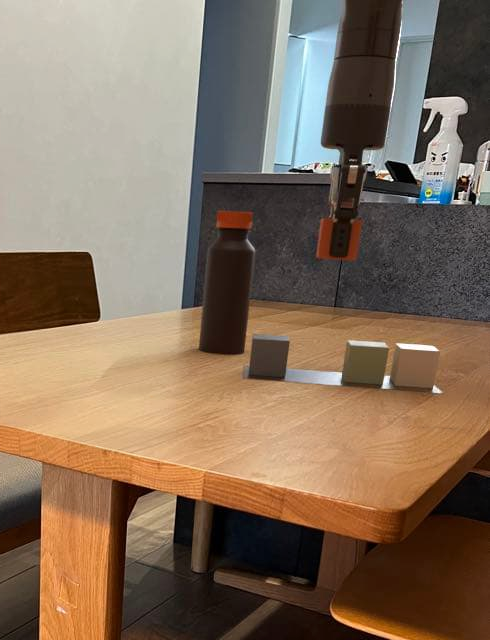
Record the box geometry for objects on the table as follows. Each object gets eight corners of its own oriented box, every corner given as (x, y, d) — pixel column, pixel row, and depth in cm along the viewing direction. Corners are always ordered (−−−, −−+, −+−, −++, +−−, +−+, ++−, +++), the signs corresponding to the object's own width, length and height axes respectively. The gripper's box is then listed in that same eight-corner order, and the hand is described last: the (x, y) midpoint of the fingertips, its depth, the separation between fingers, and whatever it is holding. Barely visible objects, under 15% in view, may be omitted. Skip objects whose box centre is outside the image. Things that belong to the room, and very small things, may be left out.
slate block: (284, 371, 113) (288, 336, 111) (285, 377, 109) (289, 340, 107) (248, 369, 114) (252, 333, 112) (248, 374, 110) (252, 338, 108)
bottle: (207, 358, 124) (221, 211, 117) (192, 350, 130) (204, 210, 123) (251, 358, 126) (267, 213, 119) (233, 351, 132) (248, 212, 125)
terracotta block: (352, 258, 109) (358, 220, 107) (356, 260, 105) (362, 220, 103) (315, 256, 110) (321, 218, 108) (317, 258, 106) (323, 218, 104)
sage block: (378, 378, 111) (384, 342, 109) (382, 384, 107) (389, 347, 105) (341, 375, 112) (347, 340, 110) (345, 382, 108) (350, 345, 106)
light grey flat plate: (427, 383, 113) (428, 378, 113) (442, 398, 104) (443, 393, 103) (243, 369, 117) (243, 365, 116) (242, 382, 107) (242, 378, 107)
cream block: (426, 382, 110) (433, 345, 109) (433, 388, 106) (440, 351, 104) (389, 379, 111) (395, 343, 109) (394, 385, 107) (401, 348, 105)
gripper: (399, 97, 94) (373, 261, 100) (383, 112, 107) (361, 255, 113) (329, 95, 95) (308, 257, 101) (322, 110, 108) (303, 252, 114)
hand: (336, 255), depth 107 cm, fingers closed on terracotta block, 4 cm apart
